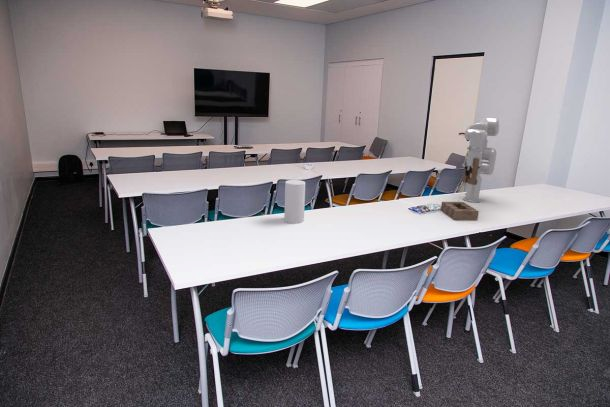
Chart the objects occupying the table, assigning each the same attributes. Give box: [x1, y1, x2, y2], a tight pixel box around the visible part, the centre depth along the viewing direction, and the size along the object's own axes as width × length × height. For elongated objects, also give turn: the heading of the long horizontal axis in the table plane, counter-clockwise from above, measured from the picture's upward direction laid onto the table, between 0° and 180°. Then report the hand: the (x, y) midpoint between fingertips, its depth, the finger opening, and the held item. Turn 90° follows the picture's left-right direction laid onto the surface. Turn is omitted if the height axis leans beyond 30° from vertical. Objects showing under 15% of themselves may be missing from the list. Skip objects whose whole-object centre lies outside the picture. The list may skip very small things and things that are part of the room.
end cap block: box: [440, 201, 480, 221], centre depth 278 cm, size 22×16×6 cm
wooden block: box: [461, 158, 480, 185], centre depth 273 cm, size 4×11×18 cm, turn 21°
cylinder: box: [283, 179, 306, 225], centre depth 251 cm, size 12×12×25 cm
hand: (470, 175), depth 274 cm, fingers closed on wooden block, 4 cm apart
